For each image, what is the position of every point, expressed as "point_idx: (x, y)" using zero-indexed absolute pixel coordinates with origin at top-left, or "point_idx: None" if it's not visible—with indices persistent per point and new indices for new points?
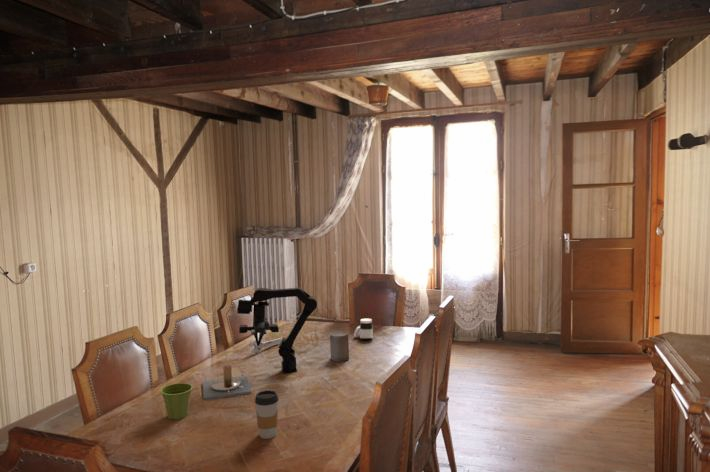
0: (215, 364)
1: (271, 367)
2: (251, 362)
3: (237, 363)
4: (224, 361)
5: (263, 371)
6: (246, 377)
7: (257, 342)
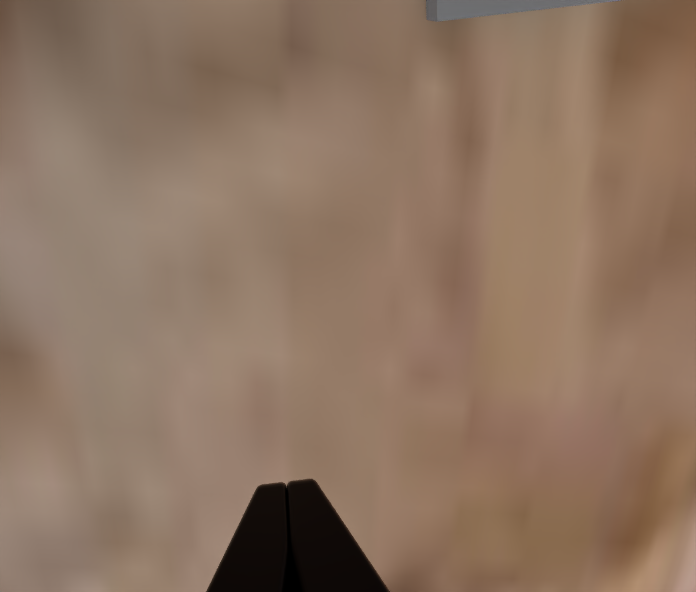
0: (671, 497)
1: (75, 352)
2: None
3: (481, 505)
4: (585, 555)
5: (179, 221)
6: None
7: (331, 573)
